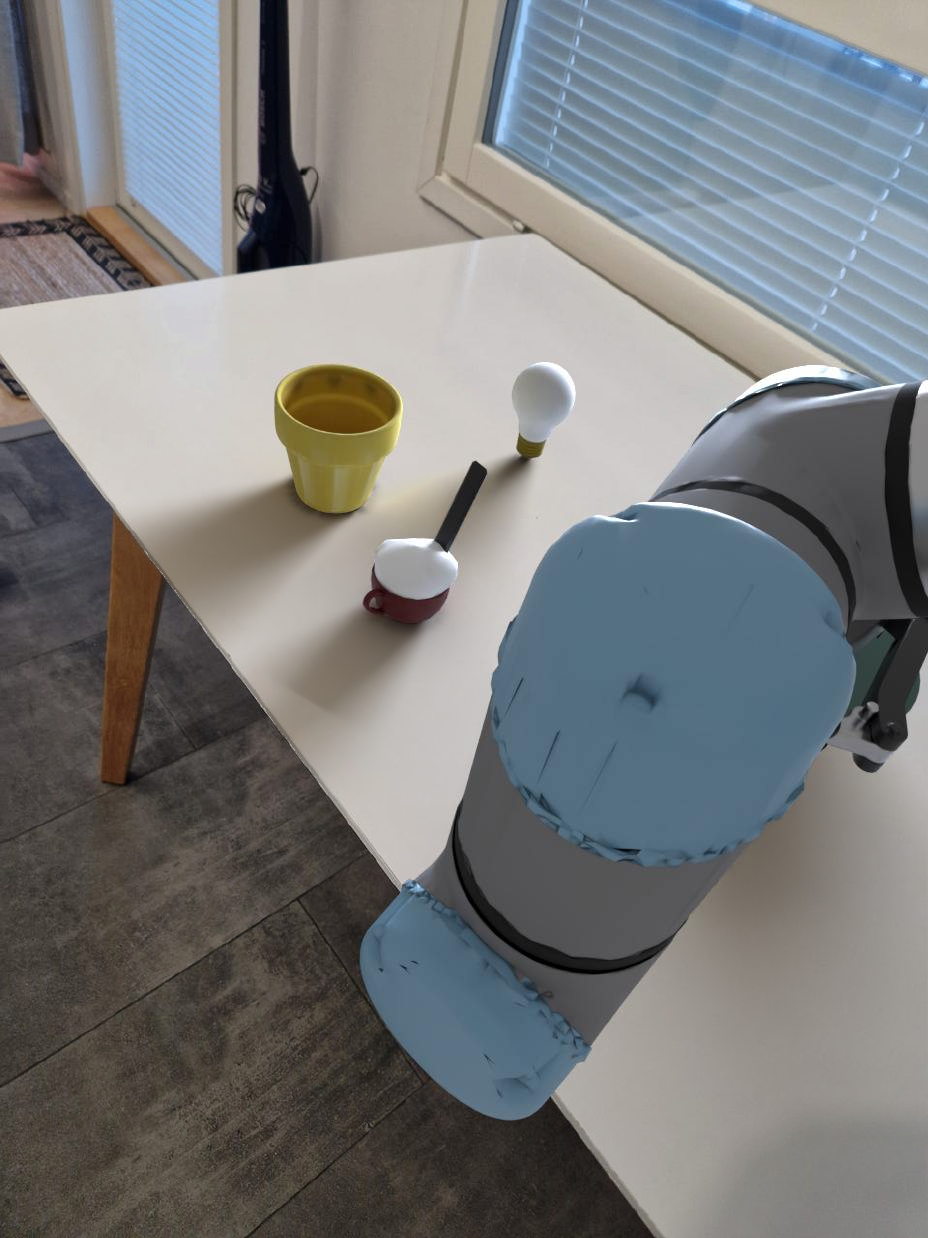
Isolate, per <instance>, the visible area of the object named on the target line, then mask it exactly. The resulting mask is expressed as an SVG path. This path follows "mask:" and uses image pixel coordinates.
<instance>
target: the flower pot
mask: <svg viewBox="0 0 928 1238" xmlns="http://www.w3.org/2000/svg"><path fill="white" fill-rule="evenodd" d="M273 401H274V402H273V403H274V404H273V405H274V406H273V409H274V411H273V413H274V428H275V432H276V435H277V438H278V440H279V442H281V444H282V445H283V446H284V447H285V451H286V453H287V459H288V462H289V467H290V470H291V474H292V478H293V483H294V487H295V491H296V495H297V496H298V498H300V501H301V502H303V503H304V504H305V505H307V506H308V507H309V508H312V509H313V510H316V511H319V512H322V513H326V514H343V513H344V514H345V513H349V512H353V511H356V510H358V509H359V508H361V507H363V506H364V505H365V504H366V503H367V502H368V500H369V499H370V497H371V494H372V492H373V489H374V486H375V484H376V482H377V479H378V476H379V474H380V472H381V469H382V467H383V465H384V461H385V459H386V457H388V456H389V455H390V454H391V453H392V452H393V451H394V449H395V447H396V446H397V444H398V441H399V435H400V432H401V426H402V418H403V408H404V405H403V400H402V397H401V395H400V393H399V392H398V390H397V389H396V388H395V387H394V386H393V385H392V384H391V383H390V382H389V381H388V380H386V379H385V378H383V377H382V376H380V375H378V374H376V373H374V372H372V371H370V370H368V369H364V368H361V367H358V366H353V365H348V364H339V363H322V364H314V365H308V366H304V367H301V368H299V369H297V370H294V371H292V372H290V373H289V374H288V375H286V376H284V377H283V378H282V379H281V381H280V382H279V383H278V385H277V386H276V388H275V391H274V397H273Z"/></svg>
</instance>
